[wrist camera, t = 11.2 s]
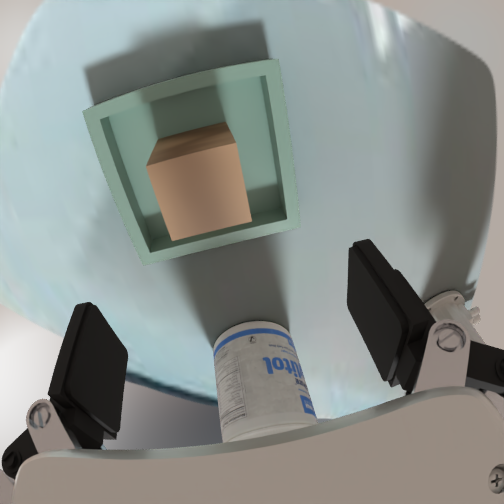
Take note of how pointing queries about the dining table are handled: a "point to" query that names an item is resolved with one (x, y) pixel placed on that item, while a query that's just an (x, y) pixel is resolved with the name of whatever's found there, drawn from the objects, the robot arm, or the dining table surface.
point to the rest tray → (188, 118)
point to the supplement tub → (260, 382)
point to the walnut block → (199, 181)
